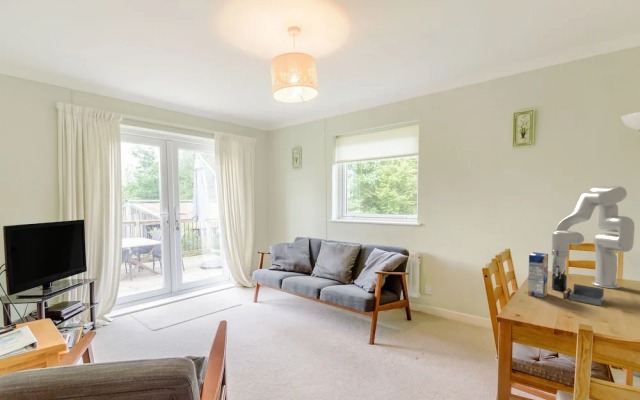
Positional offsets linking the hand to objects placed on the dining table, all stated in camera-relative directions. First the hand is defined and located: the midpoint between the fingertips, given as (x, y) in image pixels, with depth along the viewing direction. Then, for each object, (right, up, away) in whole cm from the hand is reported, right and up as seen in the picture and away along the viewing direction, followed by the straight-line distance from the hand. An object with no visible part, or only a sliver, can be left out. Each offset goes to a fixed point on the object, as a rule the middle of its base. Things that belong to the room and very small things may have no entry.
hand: (559, 283), depth 180 cm
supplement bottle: (0, -4, 0) cm, 4 cm away
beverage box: (-18, -4, -8) cm, 20 cm away
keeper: (+1, -4, -17) cm, 18 cm away
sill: (-4, -4, -11) cm, 13 cm away
